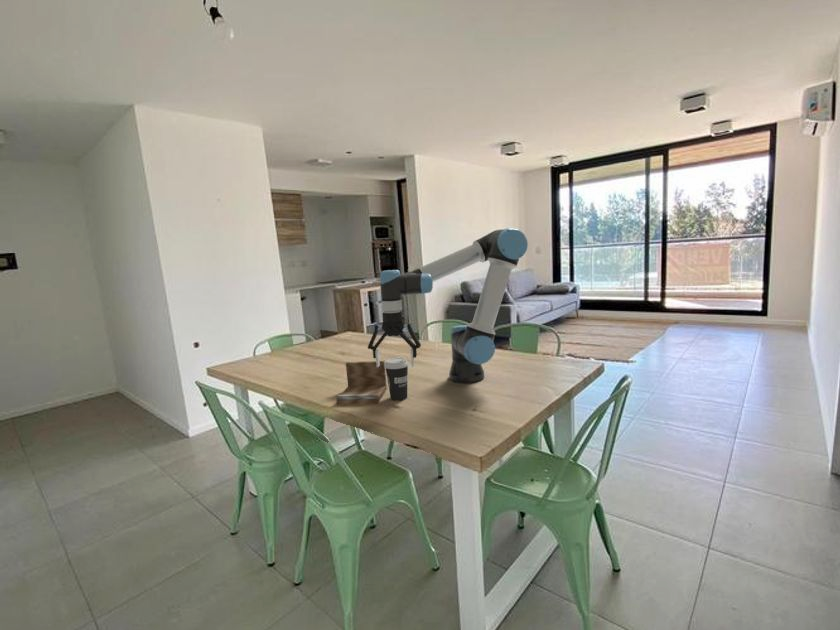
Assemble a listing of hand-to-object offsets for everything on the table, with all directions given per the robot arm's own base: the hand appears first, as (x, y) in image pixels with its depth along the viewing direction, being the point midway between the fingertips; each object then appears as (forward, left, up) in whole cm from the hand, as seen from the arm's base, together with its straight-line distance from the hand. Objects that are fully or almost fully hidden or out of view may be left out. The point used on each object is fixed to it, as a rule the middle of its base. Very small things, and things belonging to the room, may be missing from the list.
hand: (395, 366), depth 163 cm
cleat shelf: (+15, -3, -13) cm, 20 cm away
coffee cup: (0, 0, -13) cm, 13 cm away
